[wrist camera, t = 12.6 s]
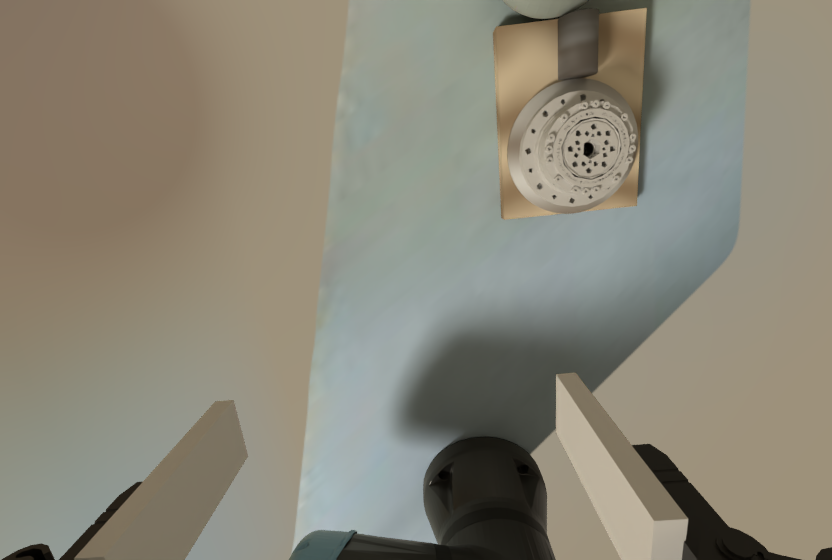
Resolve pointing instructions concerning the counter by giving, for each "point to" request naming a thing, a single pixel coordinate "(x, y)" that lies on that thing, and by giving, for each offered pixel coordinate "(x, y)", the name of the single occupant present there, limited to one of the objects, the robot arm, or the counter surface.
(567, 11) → the grey rounded piece
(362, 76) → the counter surface
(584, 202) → the mechanical component
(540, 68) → the flange board
